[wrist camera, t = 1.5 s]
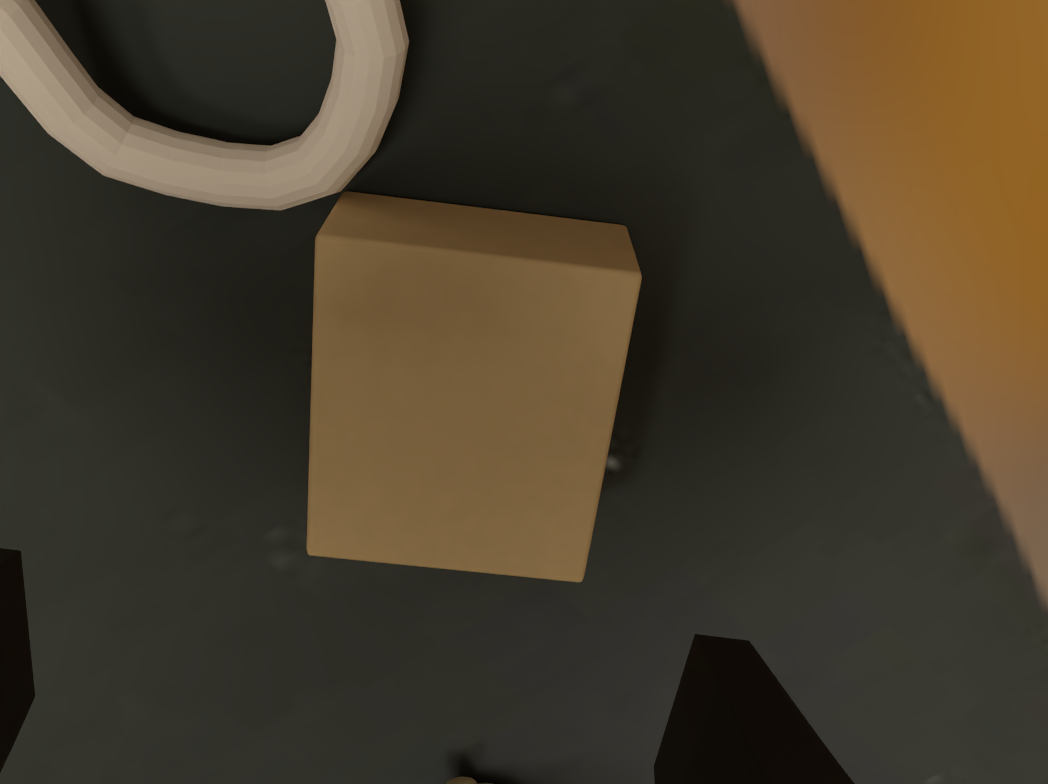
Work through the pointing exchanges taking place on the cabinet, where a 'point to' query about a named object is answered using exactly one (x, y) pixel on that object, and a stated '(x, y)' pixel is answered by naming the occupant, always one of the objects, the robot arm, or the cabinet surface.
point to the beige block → (464, 384)
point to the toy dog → (463, 781)
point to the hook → (202, 163)
